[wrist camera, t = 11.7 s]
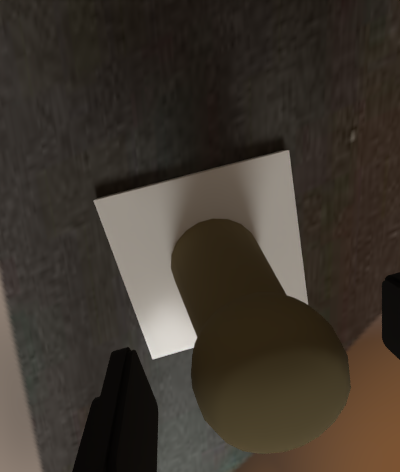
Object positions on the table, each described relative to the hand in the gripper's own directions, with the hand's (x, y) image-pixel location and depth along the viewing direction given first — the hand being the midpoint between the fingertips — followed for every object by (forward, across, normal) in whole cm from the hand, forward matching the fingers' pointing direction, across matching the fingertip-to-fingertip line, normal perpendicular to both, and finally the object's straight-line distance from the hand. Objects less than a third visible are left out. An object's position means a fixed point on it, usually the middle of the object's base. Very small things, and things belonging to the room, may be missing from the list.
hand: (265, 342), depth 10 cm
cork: (+9, 0, +1) cm, 9 cm away
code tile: (+9, +1, +1) cm, 9 cm away
